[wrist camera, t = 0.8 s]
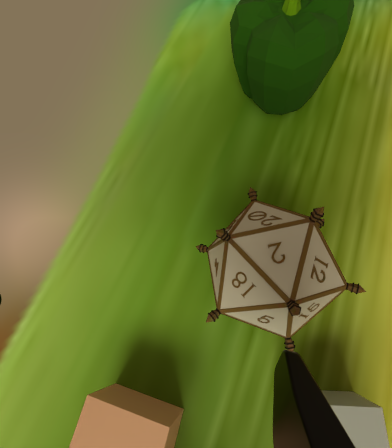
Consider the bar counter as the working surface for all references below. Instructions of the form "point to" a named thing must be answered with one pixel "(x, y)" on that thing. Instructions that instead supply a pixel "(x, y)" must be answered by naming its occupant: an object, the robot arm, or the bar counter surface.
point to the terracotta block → (126, 420)
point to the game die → (274, 269)
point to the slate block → (359, 419)
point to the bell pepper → (286, 48)
